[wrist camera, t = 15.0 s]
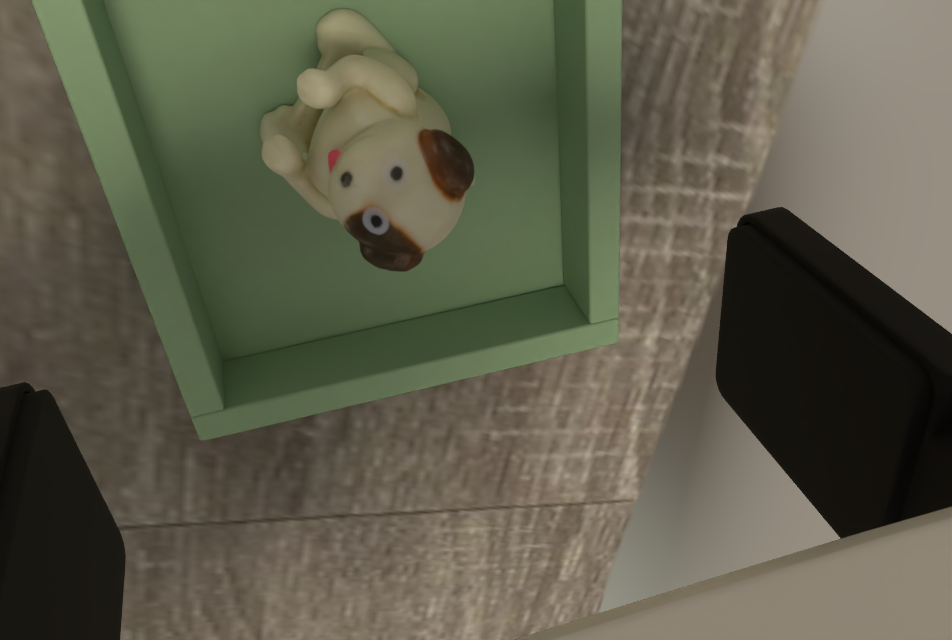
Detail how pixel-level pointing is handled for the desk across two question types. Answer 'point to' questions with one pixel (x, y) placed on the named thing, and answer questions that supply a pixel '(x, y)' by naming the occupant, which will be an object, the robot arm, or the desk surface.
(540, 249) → the tray
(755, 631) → the robot arm
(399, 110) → the toy dog
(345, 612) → the desk surface
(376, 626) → the desk surface
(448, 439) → the desk surface
